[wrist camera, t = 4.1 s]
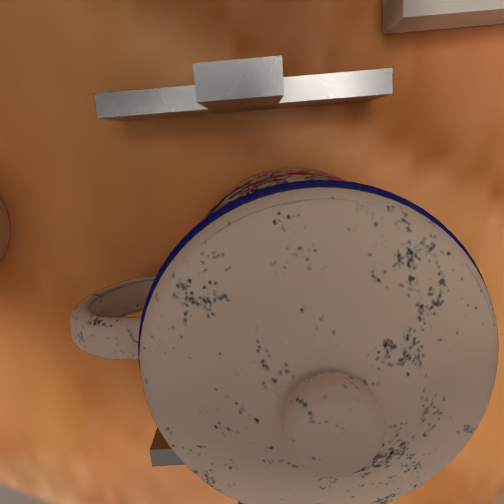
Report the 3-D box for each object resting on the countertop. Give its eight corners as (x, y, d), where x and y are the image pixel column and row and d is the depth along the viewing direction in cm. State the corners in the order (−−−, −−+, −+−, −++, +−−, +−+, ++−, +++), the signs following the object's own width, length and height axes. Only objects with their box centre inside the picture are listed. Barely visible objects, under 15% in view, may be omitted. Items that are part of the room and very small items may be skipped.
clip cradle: (166, 425, 22) (133, 531, 16) (119, 95, 18) (53, 75, 12) (374, 413, 21) (418, 515, 16) (370, 73, 18) (425, 43, 12)
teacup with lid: (400, 157, 18) (624, 189, 7) (391, 358, 21) (550, 621, 9) (110, 167, 19) (-111, 212, 7) (132, 365, 21) (-13, 630, 10)
